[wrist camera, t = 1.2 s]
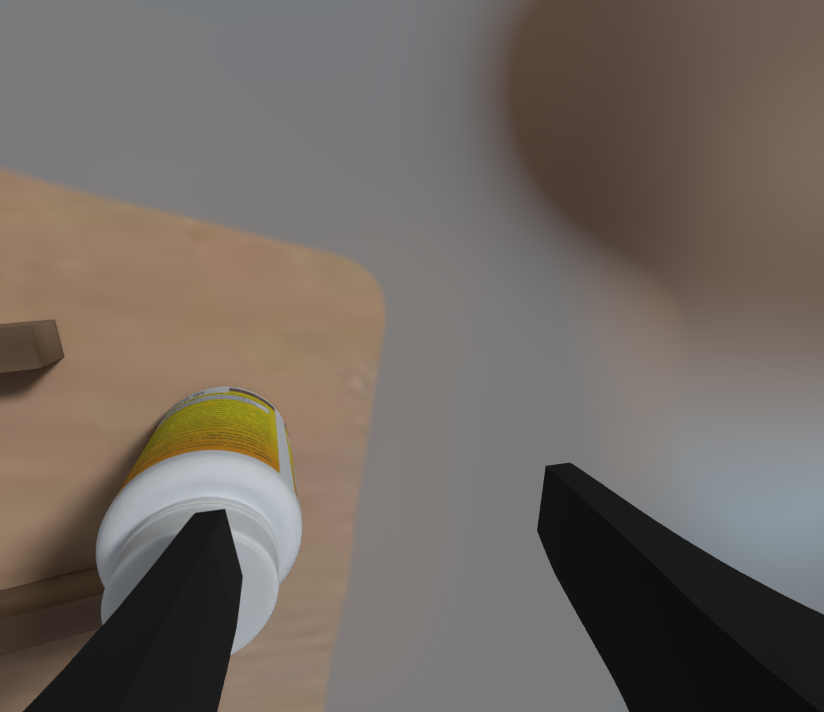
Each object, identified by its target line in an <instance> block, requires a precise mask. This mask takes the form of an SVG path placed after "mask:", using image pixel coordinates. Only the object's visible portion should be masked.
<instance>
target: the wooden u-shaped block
mask: <svg viewBox="0 0 824 712" xmlns="http://www.w3.org/2000/svg"><path fill="white" fill-rule="evenodd" d="M63 357H64V354H63V350H62V346H61V342H60V338H59V334H58V330H57V326H56V322H55V320H44V321H33V322H22V323H11V324H0V373H4V372H13V371H21V370H30V369H38V368H42V367H44V366H46V365H49V364H51V363H53V362H55V361H57V360H59V359H61V358H63ZM104 590H105V587H104V585H103V583H102V581H101V578H100V576H99V573H98V569H97V568H93V569H89V570H85V571H81V572H76V573H72V574H68V575H64V576H60V577H56V578H51V579H47V580H43V581H39V582H35V583H31V584H26V585H22V586H18V587H14V588H10V589H6V590H1V591H0V655H3V654H7V653H10V652H14V651H17V650H21V649H25V648H28V647H32V646H36V645H39V644H43V643H46V642H50V641H54V640H57V639H61V638H65V637H68V636H72V635H75V634H79V633H83V632H86V631H90V630H94V629H97V628H101V627H102V626H103V624H102V620H101V604H102V598H103V594H104Z"/></svg>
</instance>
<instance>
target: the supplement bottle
mask: <svg viewBox="0 0 824 712" xmlns="http://www.w3.org/2000/svg"><path fill="white" fill-rule="evenodd" d="M220 509H225V510H226V514H227V518H228V521H229V525H230V529H231V533H232V537H233V541H234V544H235V548H236V552H237V556H238V560H239V563H240V567H241V571H242V575H243V580H242V589H241V598H240V607H239V614H238V622H237V629H236V633H235V637H234V642H233V646H232V651H231V655H232V654H234V653H235V652H237V651H238V650H240V649H241V648H243V647H244V646H245V645H247V644H248V643H249V642H250V641H251V640H252V639H253V638H254V637H255V636H256V635H257V634H258V633H259V632H260V630H261V629H262V628H263V627H264V625H265V624H266V622H267V621H268V619H269V617H270V616H271V613H272V611H273V609H274V607H275V603H276V600H277V596H278V587H279V585H280V584H281V583H282V582H283V580H284V579H285V577H286V576H287V575H288V573H289V571H290V570H291V568H292V566H293V564H294V562H295V559H296V557H297V554H298V551H299V547H300V543H301V538H302V515H301V508H300V503H299V496H298V490H297V484H296V478H295V472H294V465H293V460H292V453H291V448H290V443H289V437H288V433H287V429H286V426H285V423H284V421H283V419H282V417H281V415H280V414H279V412H278V411H277V410H276V409H275V407H274V406H273V405H272V404H271V403H269V402H268V401H267V400H266V399H264V398H263V397H261V396H259V395H258V394H256V393H253V392H251V391H248V390H245V389H241V388H236V387H214V388H208V389H204V390H201V391H198V392H196V393H193V394H191V395H189V396H187V397H186V398H184V399H182V400H181V401H180V402H178V403H177V404H176V405H175V406H174V407H172V408H171V409H170V411H169V412H168V413H167V414H166V415H165V416H164V418H163V419H162V421H161V422H160V423H159V425H158V427H157V429H156V430H155V432H154V434H153V435H152V437H151V439H150V440H149V442H148V443H147V445H146V447H145V448H144V450H143V452H142V453H141V455H140V457H139V458H138V460H137V461H136V463H135V465H134V466H133V468H132V470H131V471H130V473H129V475H128V477H127V478H126V480H125V482H124V483H123V485H122V486H121V488H120V490H119V491H118V493H117V495H116V496H115V498H114V500H113V501H112V503H111V505H110V507H109V508H108V510H107V512H106V514H105V516H104V518H103V521H102V523H101V526H100V528H99V532H98V536H97V542H96V563H97V569H98V573H99V576H100V578H101V581H102V583H103V585H104V587H105V590H104V594H103V598H102V604H101V620H102V624H104V623H105V622H106V621H107V620H108V619H109V618H110V616H111V615H112V614H113V613H114V612H115V611H116V609H117V608H118V607H119V606H120V605H121V603H122V602H123V601H124V600H125V599H126V597H127V596H128V595H129V594H130V592H131V591H132V590H133V589H134V588H135V586H136V585H137V584H138V583H139V582H140V580H141V579H142V578H143V577H144V576H145V574H146V573H147V572H148V571H149V569H150V568H151V567H152V566H153V564H154V563H155V562H156V561H157V559H158V558H159V557H160V556H161V554H162V553H163V552H164V550H165V549H166V548H167V547H168V545H169V544H170V543H171V542H172V540H173V539H174V538H175V536H176V535H177V534H178V533H179V531H180V530H181V529H182V528H183V526H184V525H185V524H186V523H187V521H188V520H189V519H190V518H191V517H192V515H193V514H194V513H197V512H205V511H212V510H220Z"/></svg>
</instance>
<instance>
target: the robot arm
mask: <svg viewBox="0 0 824 712" xmlns="http://www.w3.org/2000/svg"><path fill="white" fill-rule="evenodd" d="M537 531H538V534H539V536H540V539H541V542H542V544H543V547H544V549H545V552H546V554H547V557H548V559H549V561H550V564H551V566H552V568H553V571H554V573H555V575H556V577H557V578H558V580H559V582H560V584H561V586H562V588H563V589H564V591H565V593H566V595H567V596H568V598H569V600H570V602H571V604H572V606H573V608H574V609H575V611H576V613H577V615H578V616H579V618H580V620H581V622H582V624H583V625H584V627H585V629H586V631H587V633H588V634H589V636H590V638H591V639H592V641H593V643H594V645H595V647H596V648H597V650H598V652H599V654H600V655H601V657H602V659H603V661H604V663H605V665H606V666H607V668H608V670H609V671H610V673H611V675H612V677H613V679H614V681H615V683H616V685H617V687H618V689H619V691H620V693H621V695H622V697H623V699H624V701H625V703H626V705H627V708H628V710H629V712H824V615H823V614H821V613H819V612H817V611H815V610H813V609H810V608H808V607H806V606H804V605H802V604H800V603H798V602H796V601H794V600H792V599H790V598H788V597H786V596H784V595H782V594H780V593H779V592H777V591H775V590H773V589H771V588H769V587H767V586H765V585H763V584H762V583H760V582H758V581H756V580H754V579H752V578H751V577H749V576H747V575H745V574H743V573H741V572H739V571H738V570H736V569H734V568H732V567H730V566H729V565H727V564H725V563H723V562H722V561H720V560H718V559H716V558H715V557H713V556H711V555H710V554H708V553H707V552H705V551H703V550H702V549H700V548H698V547H696V546H695V545H693V544H691V543H690V542H688V541H687V540H685V539H683V538H682V537H680V536H679V535H677V534H675V533H674V532H672V531H671V530H669V529H668V528H666V527H665V526H663V525H662V524H660V523H658V522H657V521H655V520H654V519H652V518H651V517H649V516H648V515H646V514H645V513H643V512H642V511H640V510H639V509H637V508H636V507H634V506H633V505H632V504H630V503H629V502H627V501H626V500H624V499H623V498H621V497H620V496H618V495H617V494H616V493H614V492H613V491H611V490H610V489H608V488H607V487H605V486H604V485H603V484H601V483H599V482H598V481H597V480H595V479H594V478H592V477H591V476H590V475H588V474H586V473H585V472H583V471H582V470H580V469H579V468H578V467H576V466H575V465H573V464H571V463H563V464H556V465H549V466H546V468H545V475H544V483H543V491H542V498H541V505H540V513H539V520H538V528H537ZM242 580H243V575H242V571H241V567H240V563H239V560H238V556H237V552H236V548H235V544H234V541H233V537H232V533H231V529H230V525H229V521H228V518H227V514H226V510H225V509H220V510H212V511H205V512H197V513H194V514H193V515H192V517H191V518H190V519H189V520H188V521H187V523H186V524H185V525H184V526H183V528H182V529H181V530H180V531H179V533H178V534H177V535H176V536H175V538H174V539H173V540H172V542H171V543H170V544H169V545H168V547H167V548H166V549H165V550H164V552H163V553H162V554H161V556H160V557H159V558H158V559H157V561H156V562H155V563H154V564H153V566H152V567H151V568H150V569H149V571H148V572H147V573H146V574H145V576H144V577H143V578H142V579H141V580H140V582H139V583H138V584H137V585H136V586H135V588H134V589H133V590H132V591H131V592H130V594H129V595H128V596H127V597H126V599H125V600H124V601H123V602H122V603H121V605H120V606H119V607H118V608H117V609H116V611H115V612H114V613H113V614H112V615H111V616H110V618H109V619H108V620H107V621H106V622H105V623H104V624H103V626H102V627H101V628H100V629H99V630H98V631H97V632H96V633H95V635H94V636H93V637H92V638H91V639H90V640H89V641H88V642H87V643H86V645H85V646H84V647H83V648H82V649H81V650H80V651H79V652H78V654H77V655H76V656H75V657H74V658H73V659H72V660H71V661H70V663H69V664H68V665H67V666H66V667H65V668H64V669H63V670H62V671H61V672H60V673H59V674H58V675H57V677H56V678H55V679H54V680H53V681H52V682H51V683H50V684H49V685H48V686H47V687H46V688H45V689H44V690H43V691H42V692H41V693H40V694H39V696H38V697H37V698H36V699H35V700H34V701H33V702H32V703H31V704H30V705H29V706H28V707H27V708H26V709H25V710H24V711H23V712H217V710H218V706H219V702H220V697H221V693H222V689H223V685H224V680H225V676H226V672H227V668H228V663H229V659H230V655H231V651H232V646H233V642H234V637H235V633H236V629H237V622H238V614H239V607H240V598H241V589H242Z"/></svg>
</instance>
